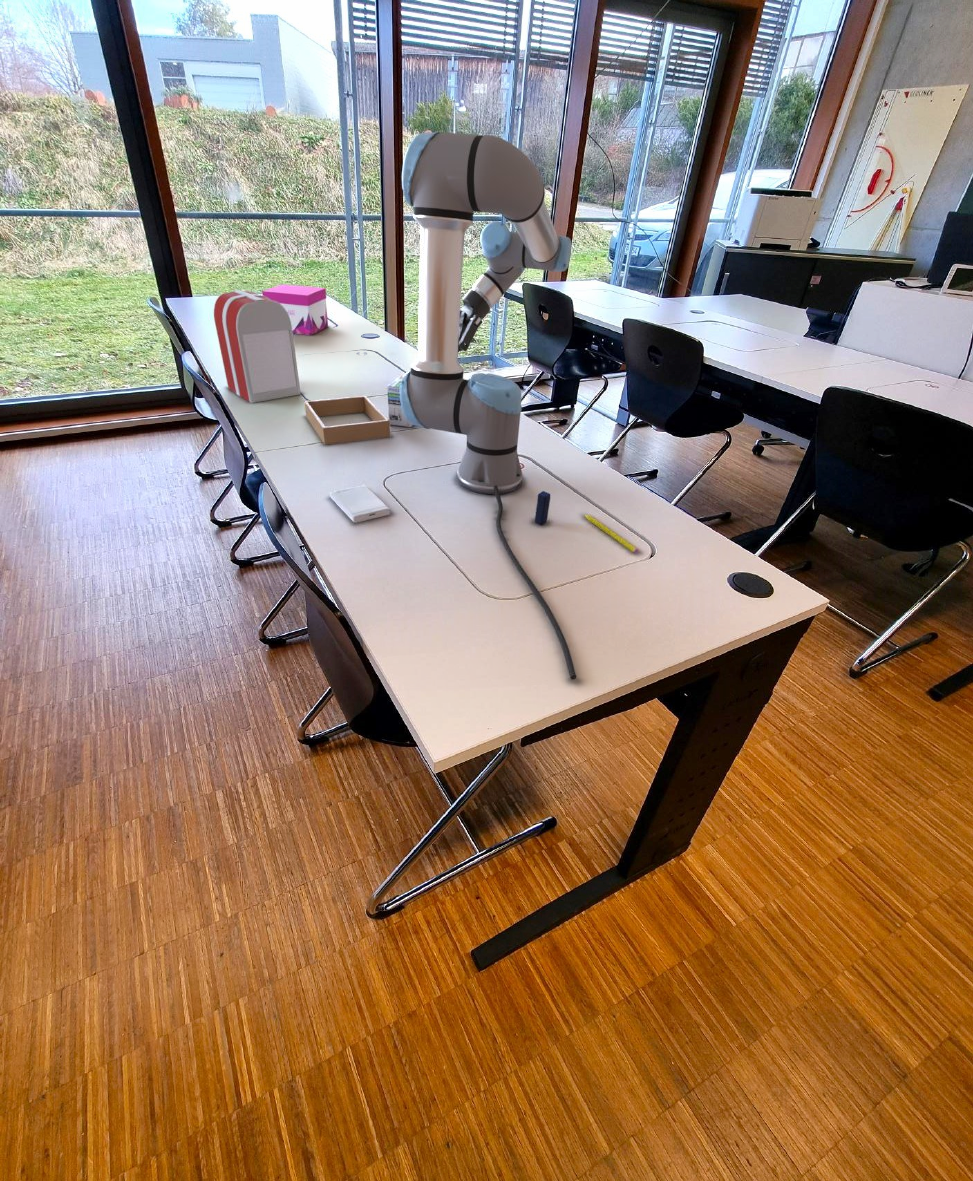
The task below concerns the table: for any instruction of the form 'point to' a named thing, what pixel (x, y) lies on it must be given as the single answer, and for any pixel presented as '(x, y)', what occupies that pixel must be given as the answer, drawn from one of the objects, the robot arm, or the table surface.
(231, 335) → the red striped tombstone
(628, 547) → the pencil
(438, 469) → the table surface
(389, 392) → the light bulb box
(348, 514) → the hard drive
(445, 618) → the table surface
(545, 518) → the navy blue rectangular block
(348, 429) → the shallow wooden tray
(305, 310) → the decorative box
